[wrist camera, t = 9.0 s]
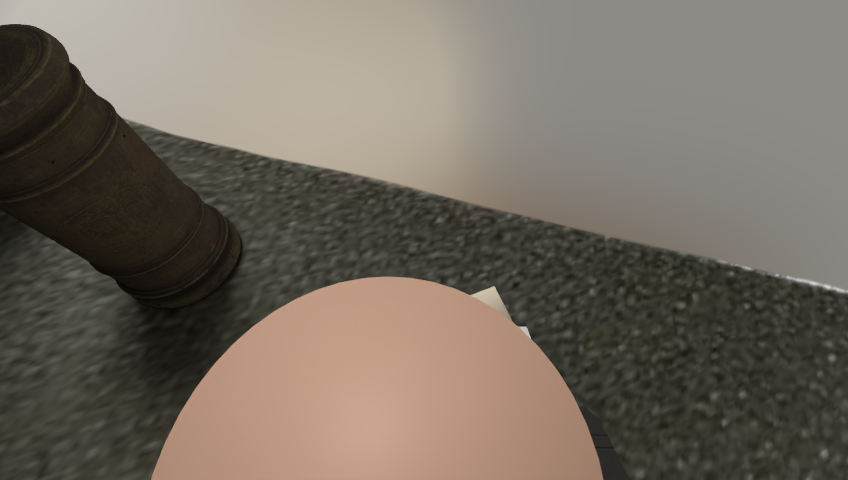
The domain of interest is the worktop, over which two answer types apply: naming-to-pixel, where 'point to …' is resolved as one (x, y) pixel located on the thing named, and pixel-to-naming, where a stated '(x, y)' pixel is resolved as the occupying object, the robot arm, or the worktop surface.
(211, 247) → the container
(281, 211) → the worktop surface
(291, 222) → the worktop surface
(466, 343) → the peg
